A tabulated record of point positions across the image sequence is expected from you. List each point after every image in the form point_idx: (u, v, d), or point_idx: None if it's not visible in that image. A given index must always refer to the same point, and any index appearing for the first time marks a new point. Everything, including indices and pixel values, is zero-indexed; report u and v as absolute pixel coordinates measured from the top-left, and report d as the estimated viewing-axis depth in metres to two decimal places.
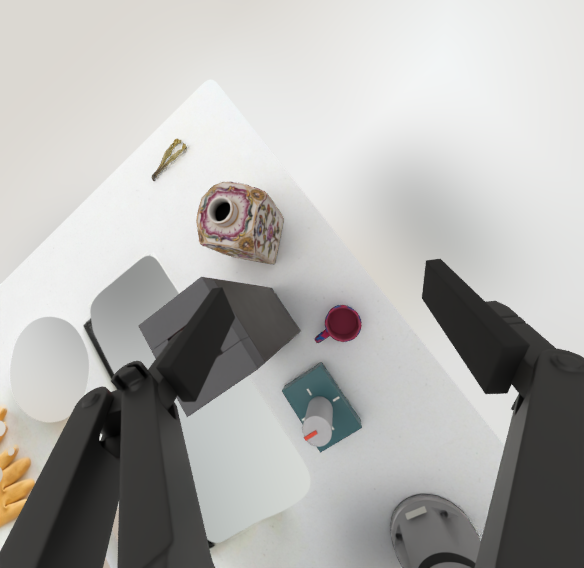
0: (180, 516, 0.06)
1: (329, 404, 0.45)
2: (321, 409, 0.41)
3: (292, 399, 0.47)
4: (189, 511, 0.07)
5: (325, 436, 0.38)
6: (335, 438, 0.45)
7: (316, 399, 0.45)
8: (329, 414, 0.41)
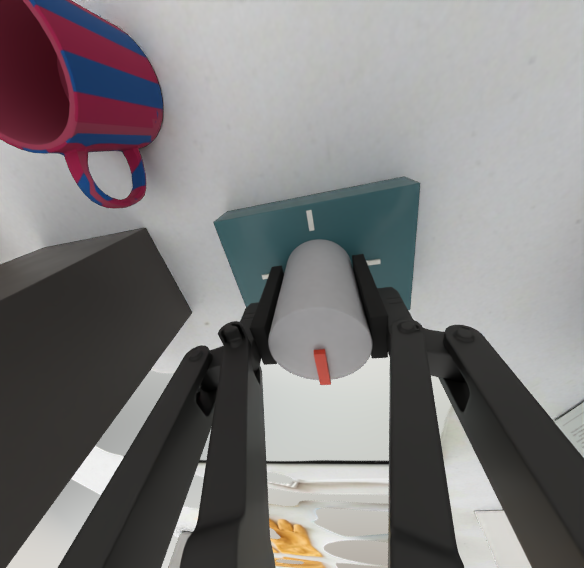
0: (252, 487, 0.06)
1: (310, 247, 0.15)
2: (283, 292, 0.12)
3: None
4: (259, 482, 0.07)
5: (345, 332, 0.10)
6: (402, 266, 0.17)
7: (284, 273, 0.16)
8: (311, 272, 0.12)
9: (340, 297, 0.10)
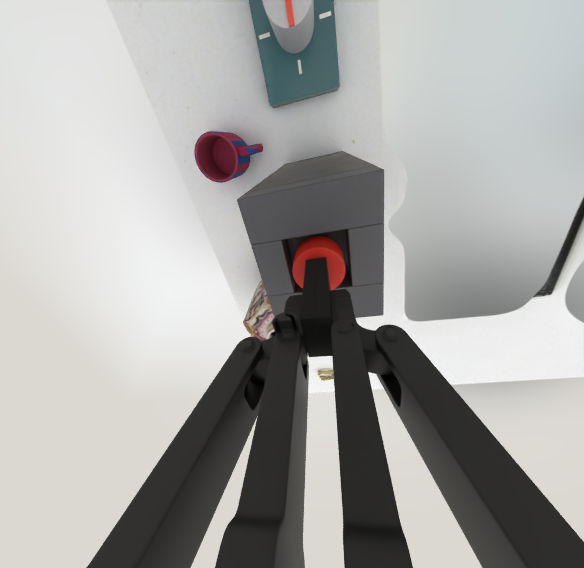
0: (292, 489, 0.06)
1: None
2: None
3: (330, 62, 0.30)
4: (298, 483, 0.07)
5: None
6: None
7: None
8: None
9: None
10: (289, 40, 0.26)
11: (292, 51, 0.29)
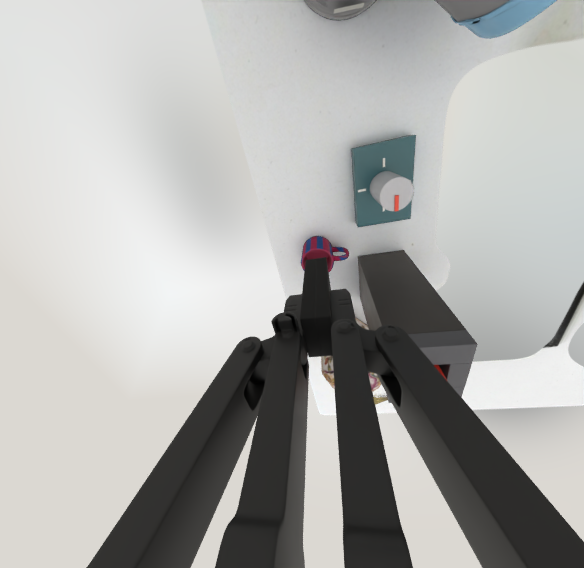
0: (292, 488, 0.06)
1: (384, 172, 0.39)
2: (381, 181, 0.36)
3: None
4: (298, 483, 0.07)
5: (406, 186, 0.34)
6: (388, 146, 0.38)
7: (372, 185, 0.40)
8: (391, 174, 0.36)
9: (404, 177, 0.34)
10: None
11: None
